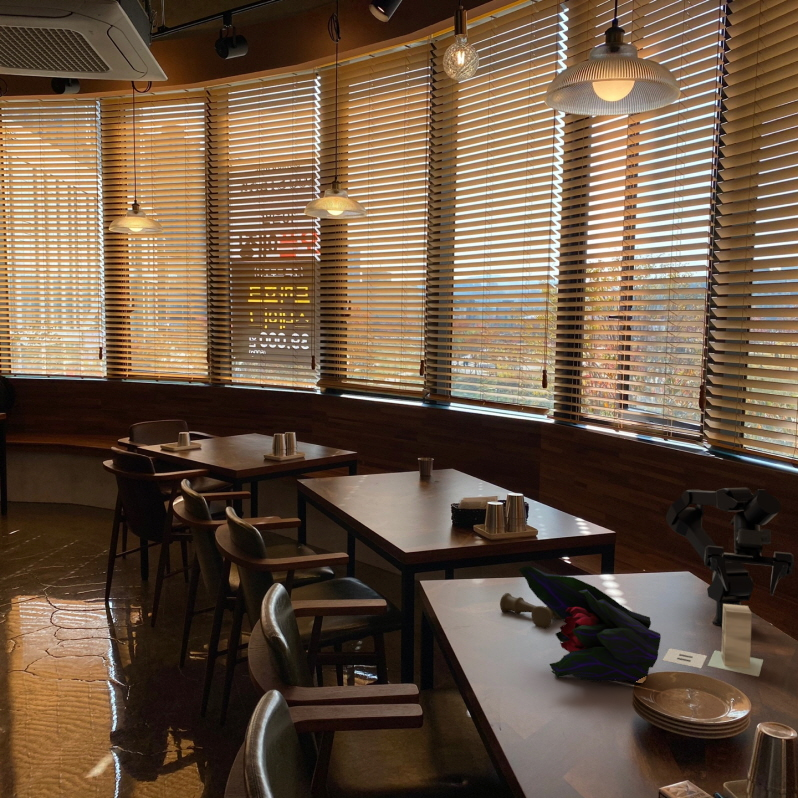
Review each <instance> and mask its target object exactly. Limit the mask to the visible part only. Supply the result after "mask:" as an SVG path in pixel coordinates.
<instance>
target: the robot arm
mask: <svg viewBox="0 0 798 798" xmlns="http://www.w3.org/2000/svg"><path fill="white" fill-rule="evenodd" d="M690 505H695V507H689V506H690ZM704 506H712V507H713V506H715V507H716V508H717V509H719V510H721V511H723V512H736V513H735V514H734V515H733V518H732V519H731V521H730V525H731V526H733V540H734V541H733V543H734V544H733V545H734V547H733V549H734V551H733V552H734V553H733V552H725V551H724V546H718V545H716V543H715V541H713V540H712V539H711V537H710V536H709V535H708V533H707V532H706V531H705V530H704V528H703V527H702V526H703V516H704V514H705V511H704ZM781 509H782V506H781V503H780V500H778V499H777V498H776V497H775V496H773V495H772V494H771V493H768V492H767V490H766V489H764V488H762V489H757V490H756V491H754V493H752V492H751V489H750V488H749V487H727V488H726V487H724V488H720V489H717V490H716V491H715V490H702V489H687V490H684V491H683V492H682V494H681V496H680V497H679V498H677V499H676V500H675V501H674V502H673V503H671V504H670V507H669V509H668V510H667V513H666V515H665V519H666V523H667V525H668V526H669V527H670V529H671V530H672V531H674V532H675V533H676V534H678V535H680V536H682V537H685V538H686V540H687V541H688V542H689V543H690V544H691V546H692V547H693V549H694V550H695V551H696V552H697V554H698V555H699V557H700V558H701V560H702V561H703V562H704V566H705V567H706V568H708V569H709V570H710V571H711V573H712V583H711V584H710V585H708V587H707V590H706V591H707V595H708V598H710V599H712V600H714V601H715V616H714V618H713V620H712V624H713V625H715V626H722V621H723V604H731V605H742V602H743V601H747V602H749V601H750V599H751V596H752V593H753V590H754V585H755V584H754V580H753V578H752V577H751V575H750V571H748V570H747V569H746V568H745V567H744V565H745V564H747V565H755V566H756V565H757V566H765V567H767V566H768V567H772V569H771V570H772V571H771V576H770V584H769V585H770V588H769V595H770V596H771V597H772V596H773V595H774V593H775V590H776V587H777V584H778V583H779V580H781V578H786V576H790V575H793V570H794V566H795V557H794V555H793V554H792V553H791V552H787V551H783V552H782V551H773V552H774V553H773V557H772V556H763V555H762V554H763V552H764V551H763V550H764V549H763V545H771V542H772V532H771V531H772V530H771V529H769V528H761V526H764V525H767V523H769V522H770V521H771V520H772V519H773V518H774V517H776V516H777V515H778V513H780V512H781ZM743 564H744V565H743Z"/></svg>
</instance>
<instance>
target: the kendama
mask: <svg viewBox="0 0 798 798" xmlns="http://www.w3.org/2000/svg"><path fill="white" fill-rule="evenodd" d="M499 608H500V610H501V612H502V613H508V612H513V613H514V614H516V615H520V614H521V613H531V621H532V622H533V624H534V625H535V626H536V627H537V626H538V628H540V627H541V629H549V627H550V626H551V624H552V621H553V620H552V619H555V620H562V621H564V620H563V619H561V618H560V617H558V616H557V615H556V614H555V613H554V612H553V611H552V610H551V609H550V608H548V607H547V606H543V605H534V604H531V603H529V602H527V601H525V600H524V597H522V596H519V597H514V596H512V594H511V593H509V592H506V593H504V594H503V595H502V596H501V598H500V601H499Z"/></svg>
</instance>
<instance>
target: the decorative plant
mask: <svg viewBox="0 0 798 798" xmlns="http://www.w3.org/2000/svg"><path fill="white" fill-rule="evenodd" d="M518 571H519V572H520V573H521V575H522V576H523V578H524V579H525V581H526V583H527V585H528V587H529V589H530V590H531V591H532V593H533V594H534V595H535V596H536V598H537V599H538V600H540V601H541V602H542V603H543V604H544V605H545V607H548V608H550V609H551V610H552V611H553V612H554V613H555V614H556V615H557V616H558V617H560V618H561V619H563V620H562V621H563V622H564V623H565V624H563V625H561V626H559V629H560V631H558V632H555V637H556V638H557V639H558V640H559V642H560V643H559V644H560V646H561V648H562V649H564V650H566V651H567V652H568V653H566V654H565V655H563V657H561V659H560V660H557V661H556V662H552V663H549V666H550V668H551V672H552V674H553V675H555V676H556V677H557V678H561V677H564V676H565V677H566V676H571V675H572V676H574V677H575V678H577V679H579V680H582V681H590V682H591V681H592V682H609V681H610V682H614V681H616V682H617V681H628V682H631V683H634V684H636V683H635V682H636V681H638V680H639V679H641V678H643V677H645V676H647V677H648V676H649V671H650V669H651V668H652V669H653V668H654V666H655V664H656V663H657V660H658V658H659V657H658V656H659V650H660V644H661V638H662V636H661V633H660V632H657V631H655V630H652V629H650V627H651V624H652V621H651V617H650V616H647V615H644V614H640V613H637V612H635V611H631V610H630V609H628V608H627V607H625V606H624V605H622V604H620V603H619V602H617V601H616V599H613V598H612V597H611V596H610V595H608V594H606V593H605V592H603V591H602V590H600V589H599V588H597V587H595V586H594V585H592V584H590V583H588V582H585V581H583V580H581V579H579V578H576V577H575V576H565V575H559V574H550V573H546V572H544V571H542V570H539V569H538V568H536V567H533V566H530V565H526V566H524V567H520V568H519V569H518Z"/></svg>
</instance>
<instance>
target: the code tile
mask: <svg viewBox="0 0 798 798" xmlns="http://www.w3.org/2000/svg"><path fill="white" fill-rule="evenodd" d="M707 657H708V655H705V654H700V653H695V652H690V651H685V650H681V649H676V648H675V649H674V648H668V650H667V652H666V653H665V655H664V657H663V659H662V661H664V662H669V663H673V664H678V665H682V666H689V667H692V668H693V667H694V668H698V669H702V667H703V666H704V663H705V661H706V659H707Z"/></svg>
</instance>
